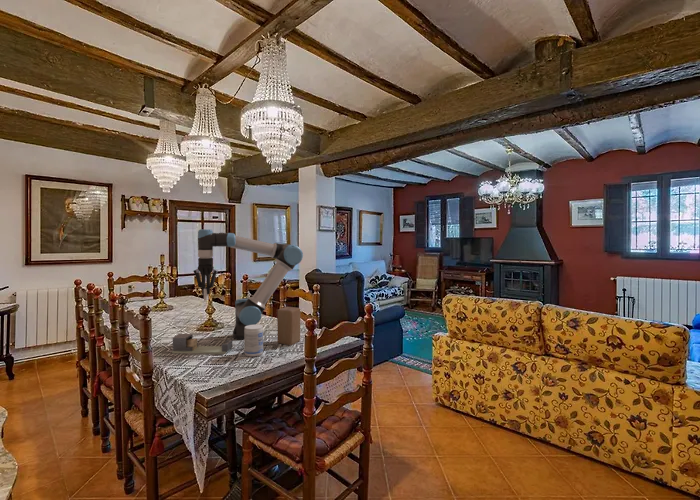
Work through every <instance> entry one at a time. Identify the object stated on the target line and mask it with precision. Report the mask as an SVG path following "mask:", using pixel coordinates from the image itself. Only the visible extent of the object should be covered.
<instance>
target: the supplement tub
mask: <svg viewBox="0 0 700 500" xmlns="http://www.w3.org/2000/svg"><path fill="white" fill-rule="evenodd" d="M263 327H264V326H263V325H262V324H256V325H248V326H245V329H244V339H243V340H244V345H243V346H244V355H245V356H247V357H250V358H251V357H253V358H254V357H258V356H261V355H263V353H264V328H263Z"/></svg>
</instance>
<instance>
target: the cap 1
mask: <svg viewBox="0 0 700 500" xmlns="http://www.w3.org/2000/svg"><path fill="white" fill-rule="evenodd" d="M187 339H193V333H178V334H176V335H175V336H173V337H172V351H193V347H187ZM198 346H199V344H198V342H197V347H198Z"/></svg>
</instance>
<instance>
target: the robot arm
mask: <svg viewBox="0 0 700 500" xmlns="http://www.w3.org/2000/svg"><path fill="white" fill-rule="evenodd" d="M213 247H215V248H216V247H226V248H230V249H231V248H232V249H235V250H241V251H246V252H250V253H256V254H260V255H265V256H270V257H271V258H272V259H275V262H276V263H275V265H274V266H273V267H272V268H271V270H270V272H269V273H268V274H267V276H266V277H265V278H264V279H263V281H262V282H261V284H260V286H259V287H258V288H257V289H256V291H255V293H254V294H253V295H252V296H251V297H248V298H239V299H235V303H234V305H235V306H234V308H235V312H234V313H235V324H234V328H233V331H232V338H234V339H236V340H244V329H245V326H248V325H258V323H259V322H260V321H261V319H262V315H263V313H264V311H265V310H266V304H267V303H268V301H269V300H270V298H271V297H272V295H273V294H274V293H275V291H276V290H277V288H278V287H279V286H280V284H281V282H282V281H283V280H284V278H285V277H286V275H287V274H288V272H290V271H293V269H295V266H296V265H299V264H300V263H301V262H302V260H303V256H304V253H303V250H302V249H301V248H300V247H299V246H298V245H296V244H289V243H277V242H275V243H271V242H265V241H262V240H257V239H252V238H248V237H243V236H239V235H236V234H235V233H234V232H222V231H221V232H218V233H217V232H213V229H202V228H201V229H199V230H198V231H197V257H198V261H197V262H198V263H197V264H198V266H197V268H196V269H195V270H193V271H192V273H193V274H194V275H195V278H196V279H195V280H196V284H197V286H198V288H200V289H201V294H202V295H203V302H205V301H209V295H210V294H211V288H213V287H215V283H216V282H215V281H216V278H217V277H216V276H217V274H218V273H219V269H215V267H214V258H213V257H214V253H213V252H214V248H213ZM211 274H212V275H211Z"/></svg>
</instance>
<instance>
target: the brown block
mask: <svg viewBox="0 0 700 500" xmlns="http://www.w3.org/2000/svg"><path fill="white" fill-rule="evenodd" d="M197 343H198V338H192V339H187V347H193V350H195V349H196V348H197Z"/></svg>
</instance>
